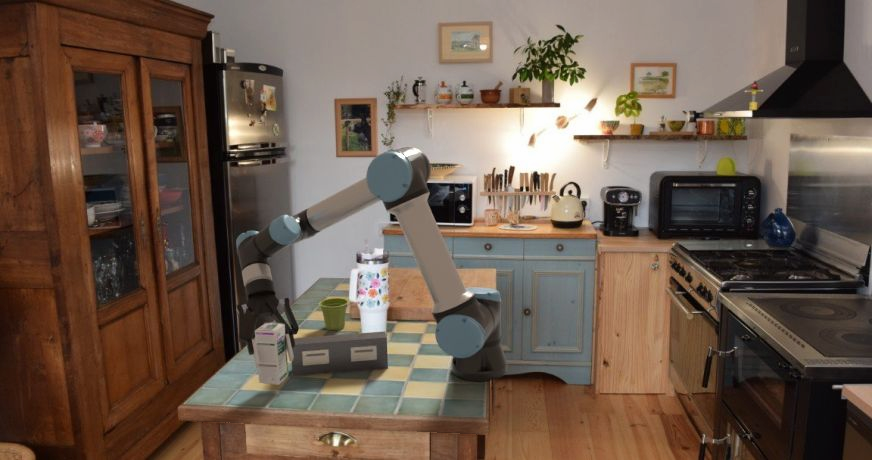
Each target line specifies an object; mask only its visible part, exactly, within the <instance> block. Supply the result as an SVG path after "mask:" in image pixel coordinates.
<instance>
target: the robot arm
mask: <svg viewBox="0 0 872 460" xmlns="http://www.w3.org/2000/svg"><path fill="white" fill-rule="evenodd" d="M431 166H432V165H431V163H430V160H429V159H428V156H427V155H426V154H425V153H424V152H422V150H421V149H418V148H415V147H413V146H412V147H410V146H409V147H408V146H407V147H402V148H396V149H389V150H387V151H384V152H382V153H380V154H378V155H377V156H375V157H374V158H373V159H372V160H371V162H370V163H369V165H368V167H367V170H366V176H365V178H362V179H360V180H359V181H357V182H355V183H353V184H351V185H349V186H347V187H345V188H344V189H342V190H339V191H338V192H336V193H334V194H332V195H330V196H328V197H327V198H325V199H323V200H321V201H318V202H317V203H316V204H314V205H312V206H310V207H308V208H306V209H304V210H302V211H299V212H298V213H296V214H293V215H288V214H282V215H280V216H278V217H277V218H274V219H273V220H272V221H271V222H270V223H269V224H268V225H266V226H265V227H264V228H263V229H261V230H260V231H257V230H247V231H246V232H242V233H240V234H239V235H238V237H237V238H236V240H235V241H236V242H235V244H236V254H237V257H238V260H239V266H240V271H241V276H242V280H243V286H244V292H245V296H246V297H245V298H246V303H244V304H236V309H235V310H236V311H235V312H236V314H237V316H238V343H239V344H243V343H244V344H246V346H247V352H248V355H250V356H251V355H252V356H253V360H254V366H255V368H257V369H258V367H259V364H260V361H259V356H258V351H257V346H256V340H255V338H254V339H253V337H254V334H255V330H256V325H257V322H258V318H263V317H271V318H272V319H273V320H274V321H275V323H282V324H285V336H286V348H287V357H288V360H289V361H288V362H290V363H292V361H293V358H294V355H293V351H292V348H294V346H295V341H294V338H295V337H294V336H295V335H298V332H299V330H300V327H299V325H298V322H297V320H296V318H295V316H294V315H295V314H294V313H293V311H292V308H291V305H290V298H289V297H285V298H284V299H283V298H282V299H279V298H278V296H277V294H276V291H275V290H276V289H275V285H274V282H273V276H272V272H271V267H270V261H269V260H270V259H271V258H272V257H274V256H275V255H277V254H278V253H279V252H281V251H282V250H283V249H285V248H287V247H290V246H292V245H295V244H298V243H299V242H301V241H304V240H306V239H310V238H312V237H315V235H317V234H318V233H320V232H322V231H324V230H327V229H328V228H330V227H332V226H335V225H336V224H339V222H341V221H344V220H346V219H348V218H350V217H352V216H354V215H356V214H358V213H360V212H361V211H364V210H365V209H367V208H370V207H372V206H374V205H377V203H380V202H382V204H383V205H384V208H385V210H386V212H387V213H390V215H391V214H392V215H394V216H395V217H396V220H397V222H398V224H399V226H400V229H401V231H402V233H403V235H404V238H405V239H406V242H407V245H408V246H409V249H410V252H411V253H412V256H413V258H414V260H415V263H416V266H417V267H418V270H419V272H420V274H421V276H422V280H423V281H424V283H425V286H426V288H427V290H428V292H429V294H430V298H431V299H432V301H433V306H432V308H431V314H432V317H433V318H434V321H435V323H436V327H435V333H434V334H435V335H434V336H435V341H436V343H437V345H438V347H439V348H440V350H442V352H444V353H445V354H446V355H447V356H451V357H453V358H452V361H451V371H452V374H453V375H454V376H456V377H458V378H460V379H462V380H466V381H472V382H488V381H493V380H498V379H500V378H502V377H504V376H505V375H506V374H508V373H507V372H508V361H507V358H506V355H505V353H504V348H503V346H502V340H501V339H502V331H501V330H502V329H501V328H502V323H501V322H502V317H501V316H502V314H501V313H502V310H501V309H502V300H501V293H500V291H499V290H497V289H494V288H490V287H483V286H482V287H481V286H479V287H477V286H473V287H471V286H470V287H465V285H464V282H463V280H462V277H461V276H460V273H459V271H458V269H457V266H456V264H455V261H454V259H453V257H452V255H451V253H450V251H449V249H448V246H447V244H446V241H445V240H444V239H445V238H444V237H443V235H442V232H441V230H440V228H439V226H438V224H437V221H436V219H435V216H434V214H433V212H432V209H431V207H430V205H429V203H428V199H429V196H430V190H429V188H428V186H427V185H428V184H427V183H428V181H429V179H430V177H431V174H432V171H431V170H432V168H431ZM278 306H280V307H281V308H282V309H283V312H284V314H285V317H286V319H287V321H288V323H289V324H288V323H287V321H286V320H285V319H284V317H283V316H282V315H281V313H280V312H279V310H278ZM247 310H248V311H250V313H252V318H251V322H250V326H249V329H248V332H247V335H245V314H246V312H247Z"/></svg>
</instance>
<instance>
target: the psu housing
mask: <svg viewBox="0 0 872 460" xmlns="http://www.w3.org/2000/svg"><path fill="white" fill-rule="evenodd" d="M294 341H295V346H294V348H292V351H293V355H294V358H293V361H291V372H292V377H300V376H301V377H302V376H313V375H325V374H335V373H338V374H339V373H346V372H350V373H351V372H358V371H361V372H362V371H371V370H373V371H374V370H383V369H384V368H385V369H389V363H388V362H389V361H388V359H389V358H388V337H387V332H386V331H374V332H371V331H370V332H362V333H361V332H360V333H348V334H347V333H345V334H334V335H319V336H307V337H306V336H305V337H294ZM385 369H384V370H385Z"/></svg>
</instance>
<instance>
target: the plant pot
mask: <svg viewBox="0 0 872 460" xmlns="http://www.w3.org/2000/svg"><path fill="white" fill-rule="evenodd" d="M348 304H349V300H348V299H346V298H341V297H331V298H326V299H323V300H321V301H320V302H319V303H318V305H319V306H320V309H321V311H322V315H323V320H324V325H325V329H326V330H328V331H334V330H337V331H339V330H342V329H344V328H345V327H346V317H347V316H346V313H347V308H348Z"/></svg>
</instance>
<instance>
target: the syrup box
mask: <svg viewBox="0 0 872 460" xmlns="http://www.w3.org/2000/svg"><path fill="white" fill-rule="evenodd" d="M285 335H286V334H285V324H282V323H277V322H264V323H263V324H262V325H261V326H259V327H258V328H257V329H256V328H255V330H254V339H255V341H256V346H257V351H258V356H259V361H260V364H259V367H257V372H258V373H257V374H258V382H259V384H266V385H277V386H279V385H281V384H282V382H283V381H284V380H285V379H287V378H288V377H289V366H288V365H289V364H288V363H289V361H288V352H287V347H286V336H285Z"/></svg>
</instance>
